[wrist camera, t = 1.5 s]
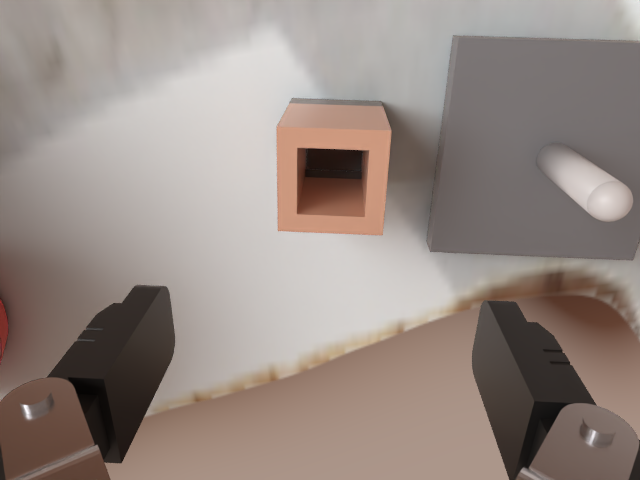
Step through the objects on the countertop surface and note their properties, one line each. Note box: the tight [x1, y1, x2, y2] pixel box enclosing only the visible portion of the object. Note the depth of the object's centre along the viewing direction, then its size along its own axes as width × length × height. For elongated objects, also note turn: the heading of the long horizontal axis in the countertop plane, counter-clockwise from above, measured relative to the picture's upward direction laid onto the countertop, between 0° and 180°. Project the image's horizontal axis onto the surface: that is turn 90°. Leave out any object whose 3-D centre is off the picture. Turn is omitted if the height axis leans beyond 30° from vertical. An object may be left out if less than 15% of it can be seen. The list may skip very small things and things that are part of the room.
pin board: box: [427, 36, 640, 260], centre depth 25 cm, size 12×12×9 cm
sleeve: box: [277, 98, 392, 235], centre depth 26 cm, size 5×5×7 cm
